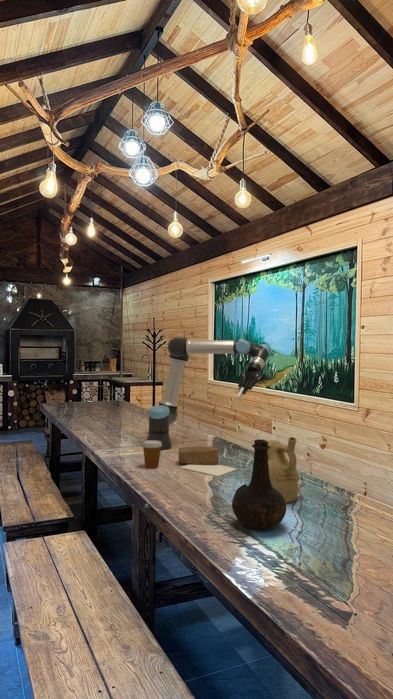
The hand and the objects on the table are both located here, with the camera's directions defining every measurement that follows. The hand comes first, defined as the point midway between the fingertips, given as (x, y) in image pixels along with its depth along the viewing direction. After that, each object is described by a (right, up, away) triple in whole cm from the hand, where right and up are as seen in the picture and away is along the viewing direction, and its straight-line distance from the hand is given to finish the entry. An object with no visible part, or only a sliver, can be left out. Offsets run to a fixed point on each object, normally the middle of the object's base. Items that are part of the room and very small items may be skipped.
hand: (238, 398), depth 242 cm
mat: (-17, -31, -26) cm, 44 cm away
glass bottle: (-2, -32, -94) cm, 99 cm away
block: (-11, -27, -16) cm, 33 cm away
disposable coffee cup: (-44, -31, -24) cm, 59 cm away
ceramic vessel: (+9, -32, -66) cm, 74 cm away
